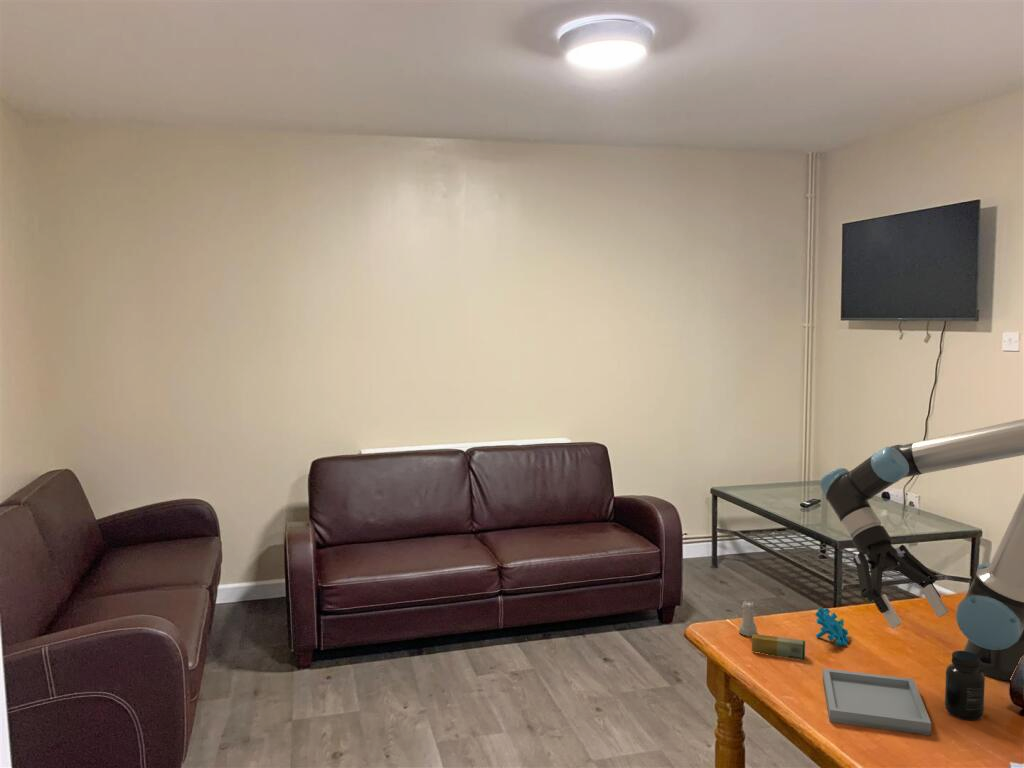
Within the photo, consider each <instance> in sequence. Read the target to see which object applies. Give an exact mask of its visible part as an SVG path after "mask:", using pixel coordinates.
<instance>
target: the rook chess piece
mask: <svg viewBox="0 0 1024 768" xmlns="http://www.w3.org/2000/svg"><path fill="white" fill-rule="evenodd" d="M754 604H755V603H754V601H750V600H748V601H747V600H744V601H743V604H742V605H741V607H742V609H743V610H742V612H741V613H742V621H741V622H740V624H739V626H738V628H739V629H738V632H739V634H740V633H741V634H743V635H746V636H745V637H747V636H752V635H753V634H758V628H757V625H756V622H755V619H754V614H755V611H754V609H755V608H756V606H755V605H754ZM741 634H740V635H741ZM743 635H742V636H743Z"/></svg>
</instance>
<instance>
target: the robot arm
mask: <svg viewBox="0 0 1024 768" xmlns="http://www.w3.org/2000/svg"><path fill="white" fill-rule="evenodd" d="M1022 456H1024V418H1022V419H1016V420H1011V421H1007V422H1003V423H998V424H994V425H988V426H984V427H980V428H975V429H971V430H966V431H962V432H961V431H960V432H956V433H953V434H948V435H944V436H943V435H942V436H939V437H933V438H928V439H924V440H920V441H916V442H912V443H907V444H894V445H892V446H885V447H883V448H881V449H880V450H877V451H876V452H874V453H873V454H872V455H871V456H869V457H868V458H866V460H864V461H863V462H861V463H860V464H858V465H857V466H856V467H855V468H853V469H851V470H850V471H849V470H848V469H847V468H844V467H839V468H836V469H833V470H832V471H830V472H827V473H826V474H824V475H823V476H822V478H821V479H820V481H819V486H820V489H821V491H822V493H823V494H824V496H825V500H826V501H827V502H828V503H829V504H830V506H831V508H832V510H833V511H834V513H835V514H836V516H837V518H838V519H839V521H840V523H841V525H842V526H843V528H844V529H845V531H846V532H847V534H848V537H850V539H852V540H851V541H852V544H853V545H854V546H855V548H856V550H857V552H858V554H856V555H855V556H854V557H853V558H852V560H853V562H854V565H855V566H856V572H857V577H858V583H859V588H860V589H859V590H860V595H861V597H862V598H863V599H867V600H868V601H869V602H874V604H875V606H876V608H877V610H878V611H879V612H880V614H882V615H883V616H884V619H885V620H886V621H887V623H888V624H889V627H890V628H891V629H892V630H893V629H895V628H897V627H899V626H900V625H901V624H903V621H902V619H901V618H900V616H899V615H898V614H897V611H896V610H895V608H894V607H893V604H892V603H891V601H890V600H889V598H888V597H887V595H886V594H885V593H884V594H882V587H883V586H882V584H883V573H884V572H886V571H888V572H891V571H894V572H898V573H900V574H902V575H903V576H904V577H906V578H907V579H909V580H910V581H912V582H913V583H915V584H916V585H918V586H920V587H921V588H922V589H921V590H920V591H921V593H922V594H923V596H924V598H925V599H926V601H927V602H928V604H929V606H930V607H931V609H932V611H933V612H934V613H935V615H936V616H937V618H938V619H940V618H942V617H943V616H945V615H947V614H949V613H950V612H949V610H948V608H947V607H946V604H945V603H944V602H943V600H942V599H941V598H942V597H941V595H940V593H939V591H938V590H937V589H936V587H935V585H934V583H936V581H937V580H938V576H937V575H936V574H935V573H934V572H933V571H931V570H930V569H929V568H928V567H927V566H925V565H924V564H923V563H922V562H921V561H919V559H918V558H916V556H914V555H913V554H912V553H911V552H910V550H909V549H908V548H907V547H906V545H904V544H900V546H898V547H896V548H895V547H894V546H893V545H892V544H891V541H892V539H891V536H890V534H889V532H888V531H887V530H886V528H885V527H884V526H883V525H882V521H881V520H880V518H879V516H878V515H877V513H876V512H875V510H874V509H873V508H872V506H871V504H870V502H869V500H870V499H872V498H874V497H875V496H876V495H878V494H880V493H881V492H883V491H885V490H886V489H888V488H889V487H890V486H891V487H892V485H894V484H896V483H897V482H900V481H901V480H902V479H905V478H910V477H914V476H919V475H924V474H930V473H934V472H939V471H945V470H951V469H956V468H962V467H966V466H971V465H978V464H983V463H984V464H985V463H988V462H993V461H999V460H1004V459H1011V458H1015V457H1022ZM1021 496H1022V497H1021V498H1020V501H1019V503H1018V505H1017V507H1016V509H1015V511H1014V512H1013V515H1012V517H1011V519H1010V522H1009V524H1008V526H1007V528H1006V530H1005V532H1004V534H1003V536H1002V538H1001V540H1000V543H999V545H998V547H997V549H996V551H995V553H994V556H993V558H992V560H991V561H990V562H985V563H981V564H979V565H978V566H977V569H976V572H975V576H974V577H973V580H972V582H971V584H970V586H969V588H968V591H967V593H966V594H965V596H964V598H963V599H962V600H961V601H960V602H959V603H958V605H957V608H956V613H955V617H956V622H957V626H958V627H959V629H960V632H961V633H962V634H963V635H964V637H965V638H966V639H967V641H966V644H965V646H964V648H963V649H964V650H963V651H967V652H971V653H974V654H976V655H977V656H978V657H979V658H980V663H979V664H980V667H979V669H980V670H981V671H982V672H983V673H984V675H985V676H988V677H991V678H994V679H998V680H1002V681H1008V682H1011V681H1010V678H1011V676H1012V674H1013V672H1014V670H1015V668H1016V666H1017V665H1018V662H1019V660H1020V658H1021V657H1022V656H1023V655H1024V493H1023V494H1022V495H1021ZM869 565H870V567H869Z"/></svg>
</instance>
